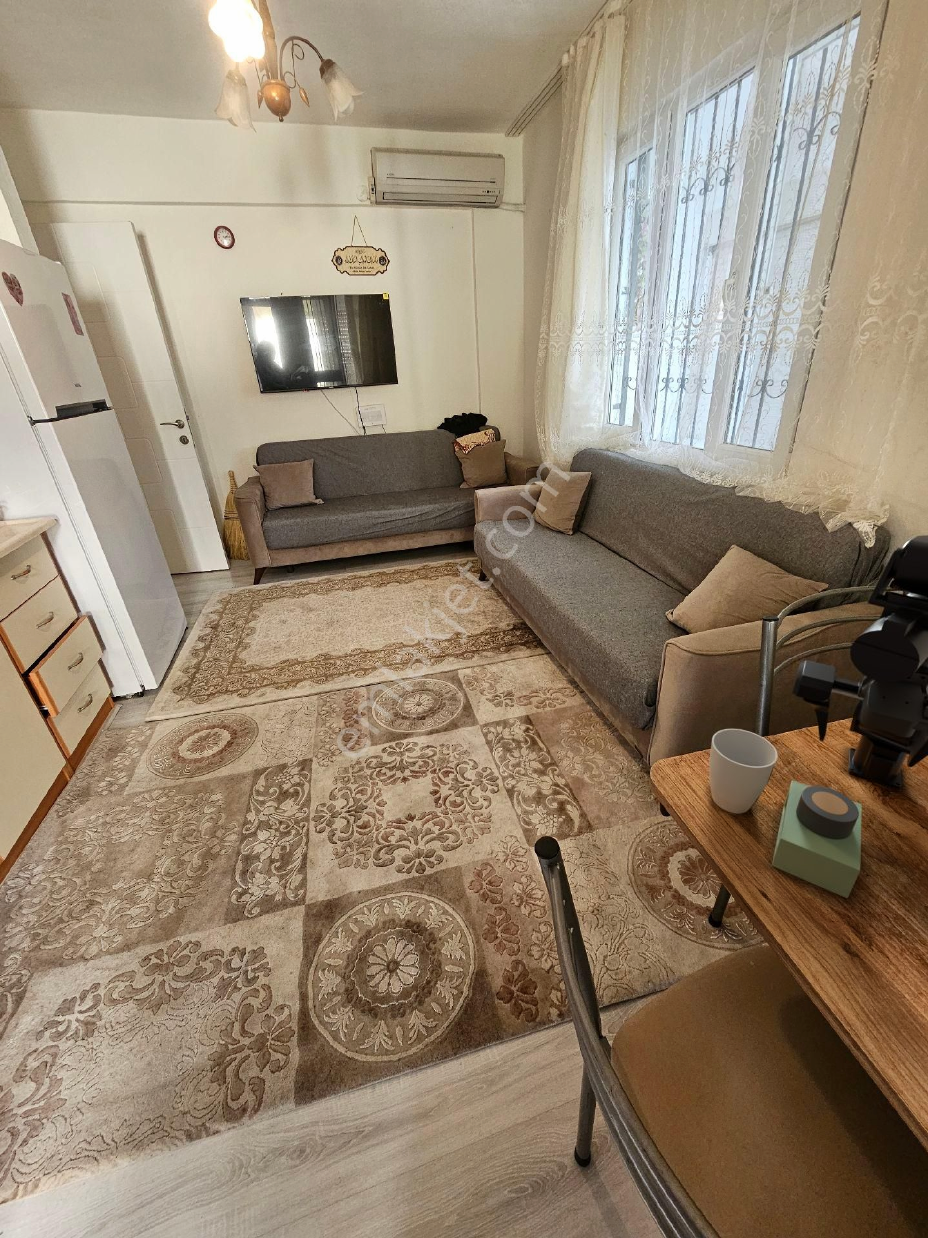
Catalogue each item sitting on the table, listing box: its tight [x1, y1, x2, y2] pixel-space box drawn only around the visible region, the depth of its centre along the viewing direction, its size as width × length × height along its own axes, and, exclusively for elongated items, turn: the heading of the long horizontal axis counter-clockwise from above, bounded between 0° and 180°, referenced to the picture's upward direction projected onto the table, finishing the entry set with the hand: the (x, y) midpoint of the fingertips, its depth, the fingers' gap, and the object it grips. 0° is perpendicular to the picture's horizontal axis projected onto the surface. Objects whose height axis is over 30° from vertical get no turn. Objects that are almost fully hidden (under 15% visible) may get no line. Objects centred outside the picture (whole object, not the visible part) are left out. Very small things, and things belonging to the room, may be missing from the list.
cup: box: [708, 728, 779, 814], centre depth 72 cm, size 8×8×10 cm
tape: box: [796, 785, 859, 839], centre depth 64 cm, size 6×6×3 cm
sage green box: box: [771, 780, 863, 899], centre depth 66 cm, size 12×8×5 cm, turn 144°
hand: (863, 751), depth 66 cm, fingers open, 9 cm apart
